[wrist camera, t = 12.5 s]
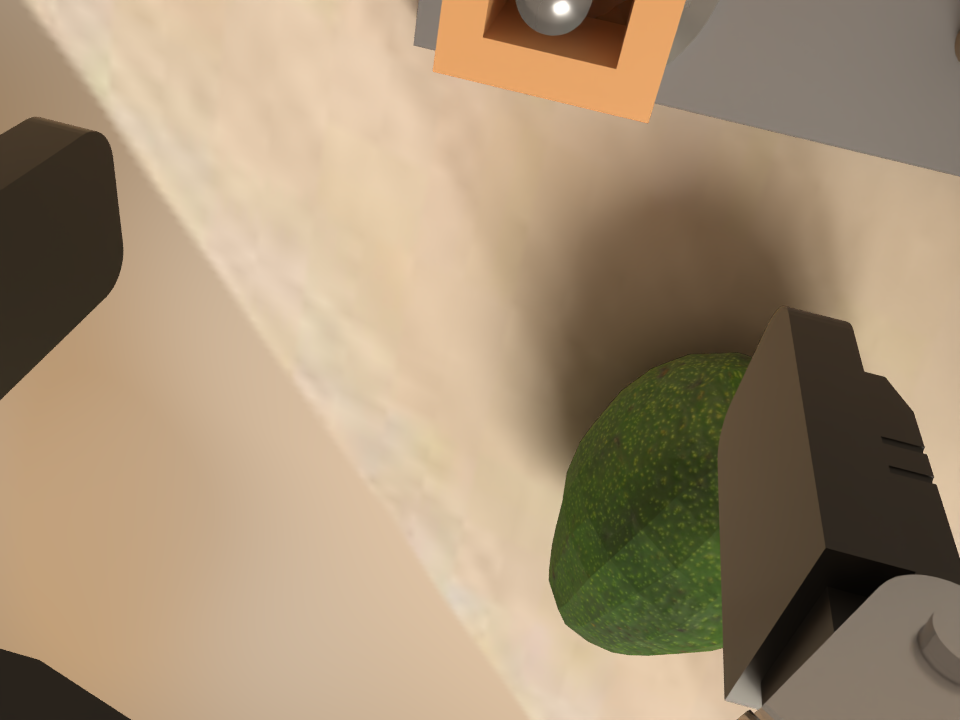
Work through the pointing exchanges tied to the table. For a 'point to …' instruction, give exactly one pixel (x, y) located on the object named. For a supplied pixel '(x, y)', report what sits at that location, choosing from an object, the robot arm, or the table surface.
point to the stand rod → (957, 46)
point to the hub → (609, 17)
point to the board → (820, 73)
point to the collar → (561, 54)
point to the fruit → (648, 514)
